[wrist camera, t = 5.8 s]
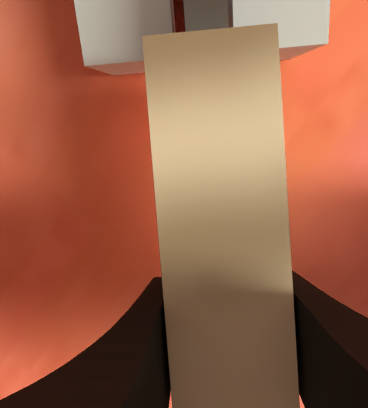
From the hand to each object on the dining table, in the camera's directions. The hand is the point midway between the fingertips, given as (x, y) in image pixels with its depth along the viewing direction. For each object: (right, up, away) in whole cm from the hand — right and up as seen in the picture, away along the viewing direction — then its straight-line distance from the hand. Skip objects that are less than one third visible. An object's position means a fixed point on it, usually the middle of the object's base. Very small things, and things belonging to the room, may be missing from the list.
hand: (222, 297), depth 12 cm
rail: (0, +4, +2) cm, 4 cm away
